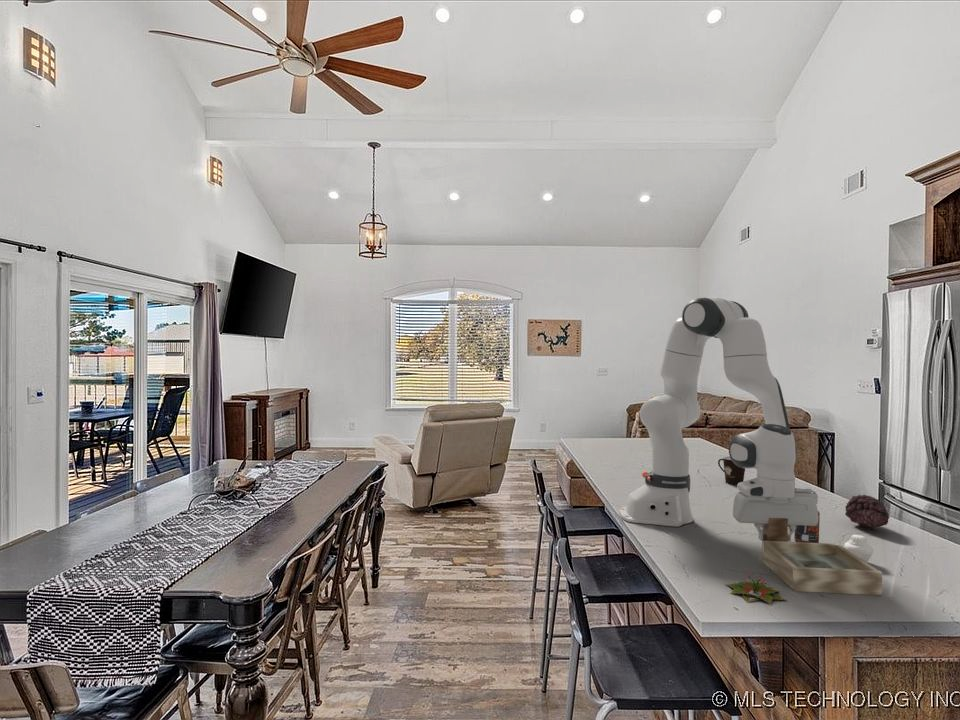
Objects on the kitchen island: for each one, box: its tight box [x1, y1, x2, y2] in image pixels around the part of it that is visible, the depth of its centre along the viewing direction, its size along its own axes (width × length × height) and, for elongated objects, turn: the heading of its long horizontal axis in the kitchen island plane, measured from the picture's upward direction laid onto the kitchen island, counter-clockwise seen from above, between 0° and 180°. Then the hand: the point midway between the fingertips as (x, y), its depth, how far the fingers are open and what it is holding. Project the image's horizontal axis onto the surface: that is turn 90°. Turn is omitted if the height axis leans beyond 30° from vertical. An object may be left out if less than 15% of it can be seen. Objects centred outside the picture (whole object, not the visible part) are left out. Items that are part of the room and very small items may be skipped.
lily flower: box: [725, 571, 788, 606], centre depth 121 cm, size 12×12×5 cm
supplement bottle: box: [793, 511, 821, 543], centre depth 154 cm, size 6×6×11 cm
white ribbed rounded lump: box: [843, 534, 875, 563], centre depth 140 cm, size 6×6×7 cm
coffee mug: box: [717, 456, 746, 486], centre depth 224 cm, size 12×9×10 cm
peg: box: [761, 518, 789, 542], centre depth 145 cm, size 4×4×10 cm
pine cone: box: [845, 494, 890, 529], centre depth 167 cm, size 18×10×10 cm, turn 170°
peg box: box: [761, 540, 883, 596], centre depth 130 cm, size 18×18×5 cm
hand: (774, 540), depth 145 cm, fingers closed on peg, 4 cm apart
